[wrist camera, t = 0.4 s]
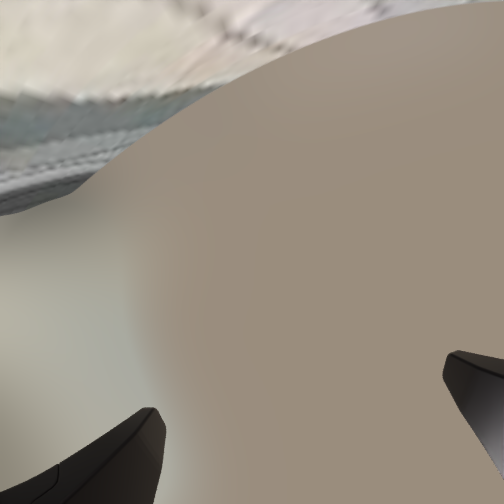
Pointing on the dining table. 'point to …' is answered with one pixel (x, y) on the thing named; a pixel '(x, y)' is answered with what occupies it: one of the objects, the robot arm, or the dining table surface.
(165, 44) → the dining table surface
